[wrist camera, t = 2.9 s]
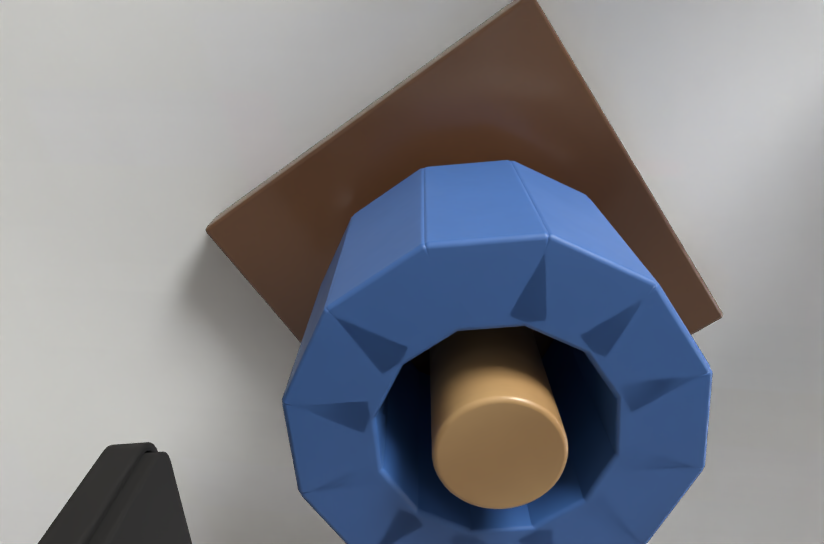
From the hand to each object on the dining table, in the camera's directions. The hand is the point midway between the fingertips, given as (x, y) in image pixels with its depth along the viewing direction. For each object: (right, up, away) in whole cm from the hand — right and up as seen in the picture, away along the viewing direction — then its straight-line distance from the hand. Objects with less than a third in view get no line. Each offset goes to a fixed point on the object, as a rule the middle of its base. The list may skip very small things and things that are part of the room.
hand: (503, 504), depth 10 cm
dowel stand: (0, +4, +8) cm, 9 cm away
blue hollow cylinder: (0, +2, +5) cm, 6 cm away
